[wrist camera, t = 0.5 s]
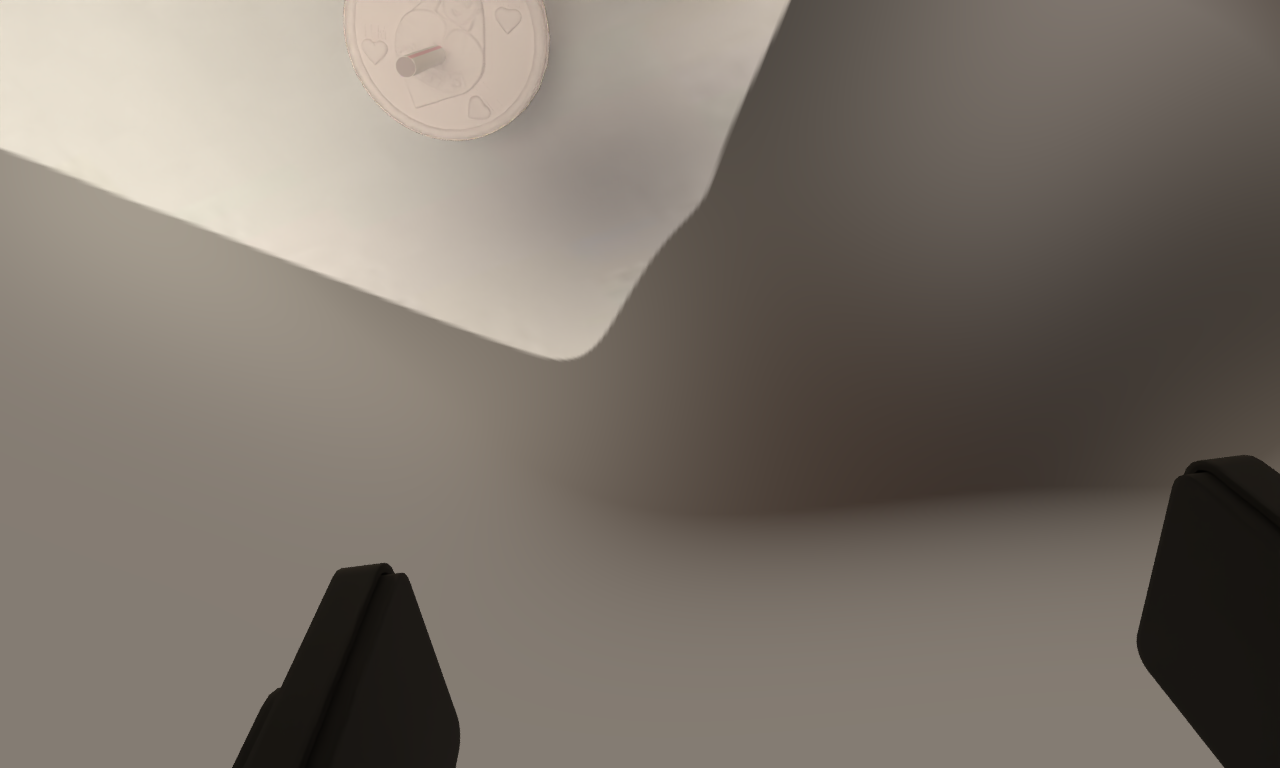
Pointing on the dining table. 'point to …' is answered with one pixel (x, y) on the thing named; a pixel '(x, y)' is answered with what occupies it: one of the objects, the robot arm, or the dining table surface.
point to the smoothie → (449, 61)
